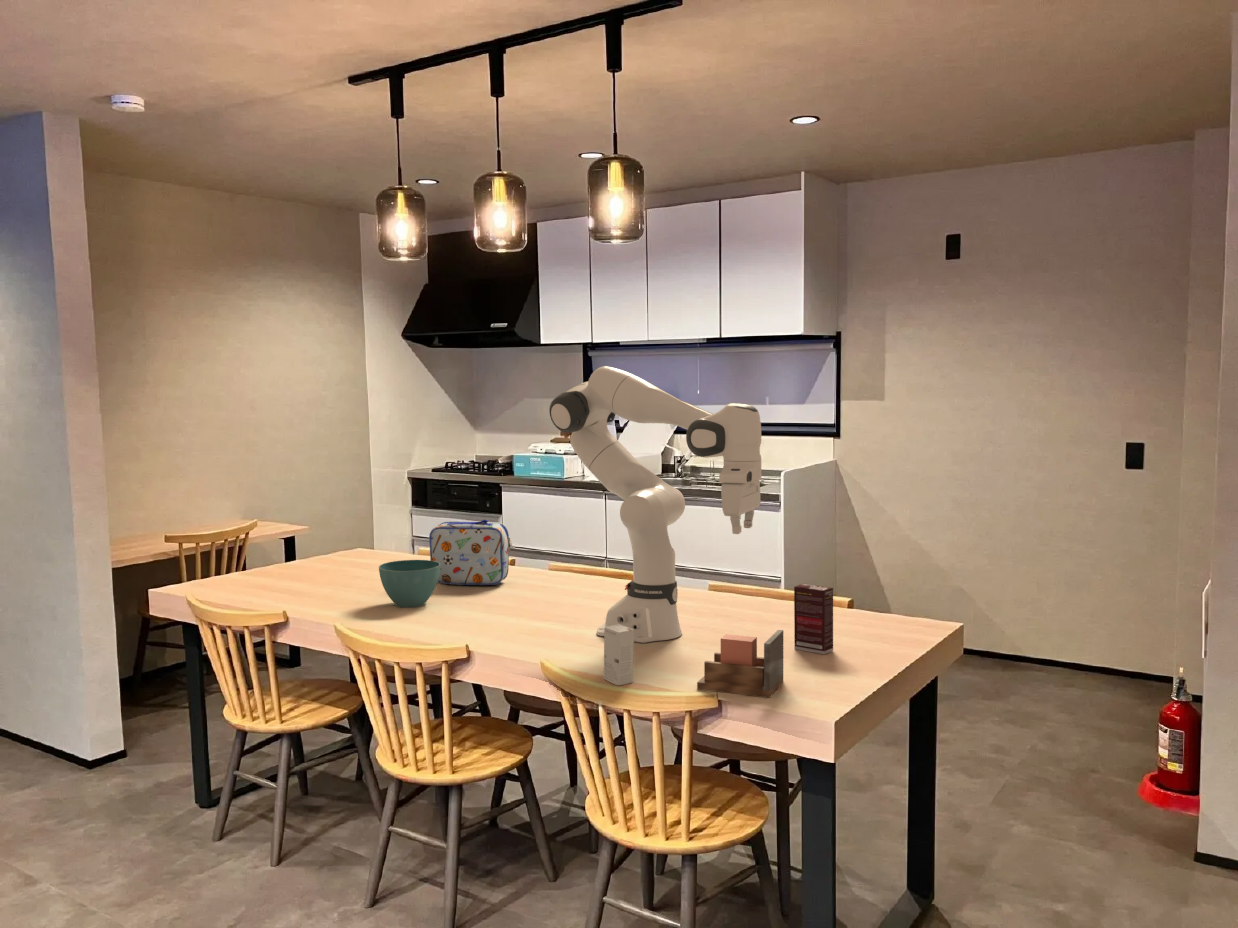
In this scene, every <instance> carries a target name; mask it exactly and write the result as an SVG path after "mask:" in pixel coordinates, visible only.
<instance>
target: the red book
mask: <svg viewBox="0 0 1238 928" xmlns="http://www.w3.org/2000/svg"><path fill="white" fill-rule="evenodd" d="M757 648H758V637H756V636H750V635H749V636H748V635H738V634H728V633H726V634H724V635H723V636H722V637H721V638H720V653H721V663H730V664H739V665H749V666H757V657H758V649H757Z"/></svg>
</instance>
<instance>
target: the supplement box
mask: <svg viewBox="0 0 1238 928" xmlns="http://www.w3.org/2000/svg"><path fill="white" fill-rule="evenodd" d="M793 590H794V591H793V599H794V600H793V610H794V611H793V612H794V616H793V617H794V622H793V623H794V633H793V634H794V650H798V651H804V652H809V653H813V654H820V655H826V654H827V655H828V654H829V653H831V652H833V651H834V587H831V586H822V585H816V584H814V585H813V584H807V583H801V584H798V585H794V587H793Z"/></svg>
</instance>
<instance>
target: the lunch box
mask: <svg viewBox="0 0 1238 928" xmlns="http://www.w3.org/2000/svg"><path fill="white" fill-rule="evenodd" d="M489 521H490V520H488V519H483V520H480V521H444V522H441V523H440V524H438V525H437V526H435V527H433V528H432V529H431V530H430V532H429V537H428V542H429V543H428V544H429V557H430V558H429V559H430V561H436V562H439V563H440V573H439V578H438V581H437V583H439V584H444V585H457V586H490V585H491V586H493V585H499V584H500V583H501V582H502V581H504V580H505V579H507V577H508V574H509V563H510V562H509V559H510V556H509V553H510V552H511V549H512V548H513V547H514V546H513V542H512V540H511V537H510V534H509V531H508V529H507V527H506V526H505V525H504V524H502V523H499V522H489Z"/></svg>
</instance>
